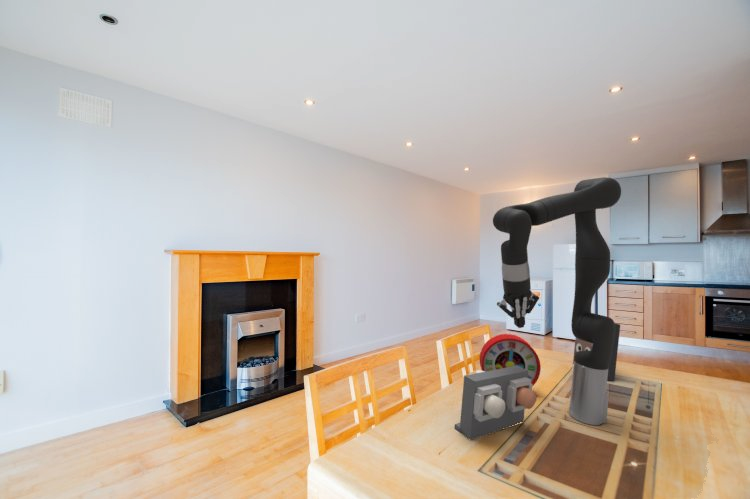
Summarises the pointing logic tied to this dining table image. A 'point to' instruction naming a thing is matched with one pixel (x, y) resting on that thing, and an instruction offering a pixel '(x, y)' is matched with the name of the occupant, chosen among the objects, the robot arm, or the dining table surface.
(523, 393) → the terracotta button
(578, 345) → the cereal box
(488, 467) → the dining table surface
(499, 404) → the cream button
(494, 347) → the toy clock
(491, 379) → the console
